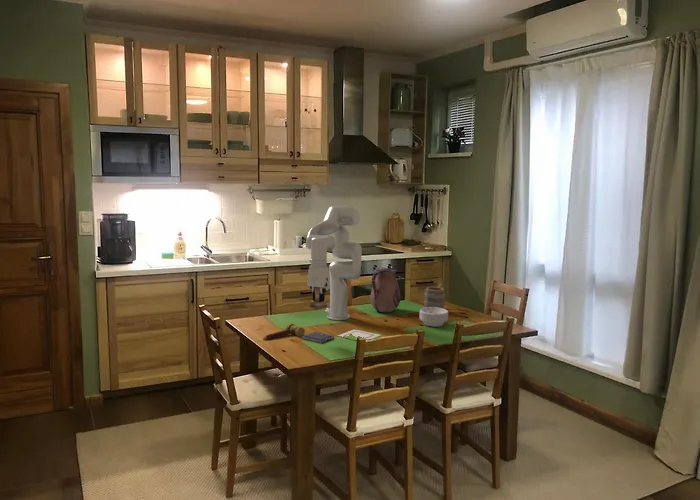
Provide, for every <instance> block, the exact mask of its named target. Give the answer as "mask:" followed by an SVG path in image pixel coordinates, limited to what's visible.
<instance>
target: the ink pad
mask: <svg viewBox="0 0 700 500" xmlns="http://www.w3.org/2000/svg"><path fill="white" fill-rule="evenodd" d="M333 338H334V339H335V336H334V335H330V334H328V333H322V332H319V331H318V332H317V331H314V332H311V333H307V334H304V335H303V336H301V339H302V340H306V341H310V342H314V343H318V342H320V343H319V344H323V343H322V342H324V343H326V342H328V341H327V340H329V341H331V340H330V339H332V340H334V339H333ZM325 341H326V342H325Z"/></svg>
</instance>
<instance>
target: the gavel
mask: <svg viewBox="0 0 700 500" xmlns="http://www.w3.org/2000/svg"><path fill="white" fill-rule="evenodd" d="M290 334H294V335H296V336H297V337H302V336H304V335H305V328H303V327H302V326H297V325H295V324H294V323H288V324H287V325H286V329H285V330H281V331H280V330H279V331H277V332H274V333H270V334H267V335H266V336H264V337H262V340H263V341H264V340H265V341H268V340H269V341H270V340H273V339H277V338H281V337H284V336H289V335H290Z"/></svg>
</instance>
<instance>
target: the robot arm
mask: <svg viewBox="0 0 700 500" xmlns="http://www.w3.org/2000/svg"><path fill="white" fill-rule="evenodd" d="M359 223H360V213H359V211H358V210H357V209H356V208H355V207H353V206H350V205H332V206H330V207H329V208H328V209H327V211H326V213H325V216H324V218H323V221H321V222H319V223H317V224H316V225H314V226H313V227H311V228H310V230H309V231H308V233H307V236H306V238H305V245H306V248H307V249H308V250H309V251H310V259H309V263H310V265H309V266H308V267H309V268H308V270H307V271H308V272H307V284H306V286H308V288H309V289H310V291H311V292H312V301H315V287H318V288H320V294H319V301H320V302H322V301H324V300H325V299H326V298H325V297H326V295H325V294H326V293H327V291H328V290H330V291H329V292H330V295H329V308H328V307H325V310H324V312H325V313H328V314H327V319H329V320H332V321H345V320H348V319H349V320H350V318H351V316H350V314H349V313H348V285H347V283H346V281H345V280H358V279H360V276H361V271H362V253H363V252H362V246H361V244H360V243H359V242H355V241H349V239H350V238H349V237H350V232H349V229H348V228H347V227H346V226H352V227H353V226H354V227H356V226H358V224H359ZM328 251H329V252H330V251H332V255H333V257H334V259H340V261H339V260H337V261H336V260H335V261H332V262H331V263H330V264H329V266H327V265H328V262H327V261H328V257H327V256H328ZM341 260H342V261H341ZM343 260H351V261H343Z"/></svg>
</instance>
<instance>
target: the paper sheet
mask: <svg viewBox="0 0 700 500" xmlns="http://www.w3.org/2000/svg"><path fill="white" fill-rule="evenodd" d="M350 334H352V335H353V336H355V337H358V336H360V337H362V338H363V337H364V339H371V340H373V339H376V338H378V337H380V336H381V334H378V333H372V332H368V331H364V330H359V329H355V328H353V329H352V330H349V331H346V332H344V333H341V334H338V335H337V336H342V337H343V336H346V337H347V336H349V335H350ZM356 339H357V338H356Z"/></svg>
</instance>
